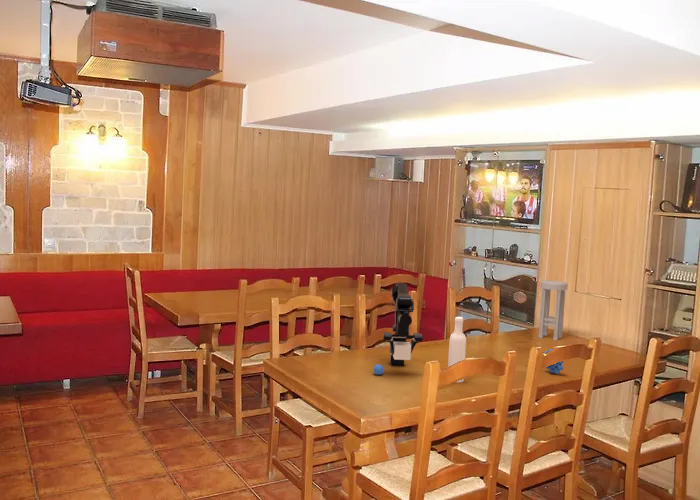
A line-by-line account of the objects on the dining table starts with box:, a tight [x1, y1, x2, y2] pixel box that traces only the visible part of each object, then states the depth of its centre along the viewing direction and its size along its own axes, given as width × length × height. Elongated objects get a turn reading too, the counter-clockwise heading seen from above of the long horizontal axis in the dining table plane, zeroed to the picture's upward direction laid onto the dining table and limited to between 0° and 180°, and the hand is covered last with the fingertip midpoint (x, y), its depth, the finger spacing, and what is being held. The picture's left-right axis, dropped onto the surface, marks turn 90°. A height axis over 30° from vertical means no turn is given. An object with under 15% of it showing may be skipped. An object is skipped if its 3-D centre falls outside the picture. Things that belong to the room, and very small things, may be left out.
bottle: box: [447, 316, 467, 384], centre depth 312 cm, size 8×8×30 cm
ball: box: [372, 363, 385, 376], centre depth 317 cm, size 5×5×5 cm
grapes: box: [543, 348, 564, 375], centre depth 332 cm, size 12×7×12 cm, turn 42°
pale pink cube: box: [393, 341, 412, 361], centre depth 319 cm, size 8×8×7 cm
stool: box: [538, 279, 569, 341], centre depth 416 cm, size 16×16×35 cm
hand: (401, 354), depth 319 cm, fingers closed on pale pink cube, 8 cm apart
